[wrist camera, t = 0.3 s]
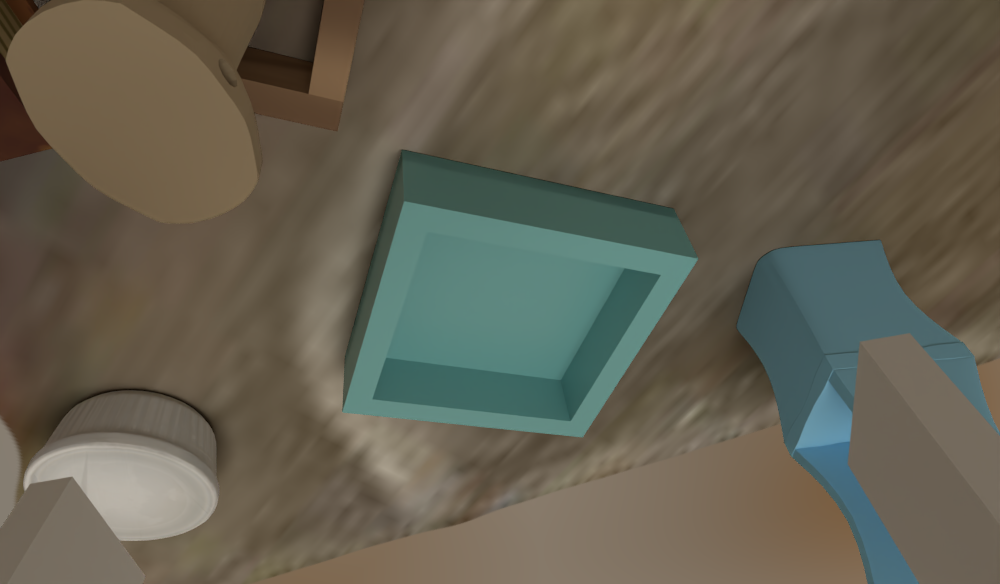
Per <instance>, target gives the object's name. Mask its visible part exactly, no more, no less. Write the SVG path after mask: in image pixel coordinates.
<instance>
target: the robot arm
mask: <svg viewBox="0 0 1000 584" xmlns="http://www.w3.org/2000/svg"><path fill="white" fill-rule="evenodd" d="M848 466H849V467H850V469H851V471H852V472H853V474H854V476H855V477H856V479H857V481H858V482H859V484H860V486H861V487H862V489H863V491H864V492H865V494H866V496H867V497H868V499H869V501H870V502H871V504H872V506H873V507H874V509H875V511H876V512H877V514H878V516H879V517H880V519H881V521H882V522H883V524H884V526H885V527H886V529H887V531H888V532H889V534H890V536H891V537H892V539H893V541H894V542H895V544H896V546H897V547H898V549H899V551H900V552H901V554H902V556H903V557H904V559H905V561H906V562H907V564H908V566H909V567H910V569H911V571H912V572H913V574H914V576H915V577H916V579H917V581H918V582H919V584H1000V436H999V434H998V433H997V432H996V431H995V430H994V429H993V428H992V426H991V425H990V424H989V423H988V422H987V421H986V420H985V418H984V417H983V416H982V415H981V414H980V413H979V412H978V410H977V409H976V408H975V407H974V406H973V405H972V404H971V402H970V401H969V400H968V399H967V398H966V397H965V396H964V395H963V393H962V392H961V391H960V390H959V389H958V388H957V387H956V385H955V384H954V383H953V382H952V381H951V380H950V379H949V377H948V376H947V375H946V374H945V373H944V372H943V371H942V369H941V368H940V367H939V366H938V365H937V364H936V363H935V361H934V360H933V359H932V358H931V357H930V356H929V355H928V353H927V352H926V351H925V350H924V349H923V348H922V347H921V345H920V344H919V343H918V342H917V341H916V340H915V339H914V337H913V336H912V335H911V334H910V333H908V334H902V335H896V336H890V337H884V338H878V339H872V340H867V341H861V342H860V345H859V355H858V365H857V375H856V385H855V395H854V405H853V415H852V425H851V436H850V446H849V456H848ZM145 577H146V576H145V575H144V573H143V572H142V571H141V569H140V568H139V567H138V565H137V564H136V562H135V561H134V560H133V558H132V557H131V556H130V554H129V553H128V552H127V550H126V549H125V547H124V546H123V545H122V543H121V542H120V541H119V539H118V538H117V537H116V535H115V534H114V532H113V531H112V530H111V528H110V527H109V526H108V524H107V523H106V522H105V520H104V519H103V517H102V516H101V515H100V513H99V512H98V511H97V509H96V508H95V507H94V505H93V504H92V502H91V501H90V500H89V498H88V497H87V496H86V494H85V493H84V492H83V490H82V489H81V487H80V486H79V485H78V483H77V482H76V481H75V479H74V478H73V477H67V478H61V479H55V480H49V481H43V482H38V483H32V484H30V485H29V486H28V488H27V489H26V491H25V492H24V494H23V495H22V497H21V498H20V500H19V501H18V503H17V504H16V506H15V507H14V509H13V510H12V512H11V513H10V515H9V516H8V518H7V519H6V521H5V522H4V524H3V525H2V527H1V528H0V584H143V581H144V579H145Z"/></svg>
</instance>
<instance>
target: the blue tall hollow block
mask: <svg viewBox="0 0 1000 584" xmlns="http://www.w3.org/2000/svg"><path fill="white" fill-rule="evenodd" d="M737 330H738V331H739V332H740V333H741V335H742V336H743V337H744V338H745V339H746V341H747V342H748V343H749V344H750V346H751V347H752V348H753V350H754V351H755V353H756V354H757V356H758V357H759V359H760V361H761V362H762V364H763V366H764V368H765V370H766V372H767V374H768V376H769V379H770V382H771V385H772V388H773V391H774V394H775V398H776V402H777V406H778V410H779V415H780V420H781V426H782V431H783V437H784V443H785V445H786V447H787V449H788V451H789V453H790V455H791V456H792V457H793V458H794V459H795V460H796V461H797V462H798V463H799V464H800V465H801V466H802V467H803V468H804V469H806V470H807V471H808V472H809V473H810V474H811V475H812V476H813V477H814V478H815V479H816V480H817V481H818V482H819V483H820V484H821V485H822V486H823V487H824V489H825V490H826V491H827V492H828V493H829V495H830V496H831V497H832V498H833V499H834V501H835V502H836V503H837V505H838V507H839V508H840V510H841V511H842V513H843V514H844V516H845V518H846V519H847V521H848V523H849V525H850V528H851V530H852V532H853V534H854V537H855V540H856V542H857V545H858V547H859V551H860V555H861V558H862V561H863V565H864V568H865V573H866V578H867V582H868V584H919V582H918V581H917V579H916V577H915V576H914V574H913V572H912V571H911V569H910V567H909V566H908V564H907V562H906V561H905V559H904V557H903V556H902V554H901V552H900V551H899V549H898V547H897V546H896V544H895V542H894V541H893V539H892V537H891V536H890V534H889V532H888V531H887V529H886V527H885V526H884V524H883V522H882V521H881V519H880V517H879V516H878V514H877V512H876V511H875V509H874V507H873V506H872V504H871V502H870V501H869V499H868V497H867V496H866V494H865V492H864V491H863V489H862V487H861V486H860V484H859V482H858V481H857V479H856V477H855V476H854V474H853V472H852V471H851V469H850V467H849V466H848V456H849V446H850V436H851V425H852V415H853V405H854V395H855V385H856V375H857V365H858V355H859V345H860V342H861V341H867V340H872V339H878V338H884V337H890V336H896V335H902V334H908V333H910V334H911V335H912V336H913V337H914V339H915V340H916V341H917V342H918V343H919V344H920V345H921V347H922V348H923V349H924V350H925V351H926V352H927V353H928V355H929V356H930V357H931V358H932V359H933V360H934V361H935V363H936V364H937V365H938V366H939V367H940V368H941V369H942V371H943V372H944V373H945V374H946V375H947V376H948V377H949V379H950V380H951V381H952V382H953V383H954V384H955V385H956V387H957V388H958V389H959V390H960V391H961V392H962V393H963V395H964V396H965V397H966V398H967V399H968V400H969V401H970V402H971V404H972V405H973V406H974V407H975V408H976V409H977V410H978V412H979V413H980V414H981V415H982V416H983V417H984V418H985V420H986V421H987V422H988V423H989V424H990V425H991V426H992V428H993V429H994V430H995V431H996V432H997V433H998V434H999V436H1000V432H999V430H998V428H997V427H996V425H995V423H994V421H993V418H992V416H991V413H990V411H989V408H988V406H987V403H986V400H985V397H984V393H983V390H982V387H981V383H980V379H979V375H978V371H977V367H976V362H975V359H974V355H973V354H972V353H971V352H970V350H969V349H968V348H967V347H966V345H965V344H964V343H963V342H961V341H960V340H958V339H957V338H955V337H954V336H953V335H951V334H950V333H948V332H947V331H946V330H944V329H943V328H942V327H940V326H939V325H938V324H936V323H935V322H934V321H933V320H931V319H930V318H929V317H928V316H926V315H925V314H924V313H923V312H922V311H921V310H920V309H919V308H917V307H916V306H915V304H914V303H913V302H912V301H911V300H910V299H909V298H908V297H907V296H906V295H905V293H904V292H903V290H902V289H901V287H900V286H899V284H898V282H897V281H896V279H895V277H894V275H893V273H892V271H891V269H890V266H889V263H888V261H887V258H886V255H885V252H884V249H883V246H882V243H881V240H874V241H861V242H848V243H835V244H822V245H809V246H796V247H786V248H780V249H776V250H773V251H771V252H769V253H767V254H766V255H764V256H763V257H762V258H761V259H760V260H759V261H758V262H757V264H756V267H755V269H754V272H753V275H752V278H751V281H750V284H749V287H748V291H747V294H746V297H745V300H744V303H743V306H742V309H741V312H740V315H739V318H738V322H737Z"/></svg>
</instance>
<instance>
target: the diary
mask: <svg viewBox="0 0 1000 584" xmlns="http://www.w3.org/2000/svg"><path fill="white" fill-rule="evenodd" d="M38 10H39V9H38V7H37V6H36V4H35V3H34V1H33V0H0V161H4V160H8V159H12V158H16V157H20V156H24V155H28V154H32V153H36V152H40V151H44V150H48V149H52V147H51V146H50V145H49V144H48V142H47V141H46V140H45V139H44V138H43V136H42V135H41V134H40V133H39V132H38V131H37V129H36V128H35V126H34V124H33V122H32V121H31V119H30V117H29V115H28V114H27V112H26V109H25V107H24V105H23V102H22V100H21V98H20V95H19V93H18V91H17V88H16V86H15V83H14V81H13V78H12V76H11V73H10V71H9V68H8V66H7V63H6V61H5V60H6V57H7V53H8V49H9V46H10V44H11V42H12V40H13V38H14V36H15V34H16V33H17V32H18V31H19V30H20V28H21V27H22V26H23V25H24V24H25V23H26V22H27V21H28V20H29V19H30V18H31V17H32V16H33V15H34V14H35V13H36V12H37V11H38Z"/></svg>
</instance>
